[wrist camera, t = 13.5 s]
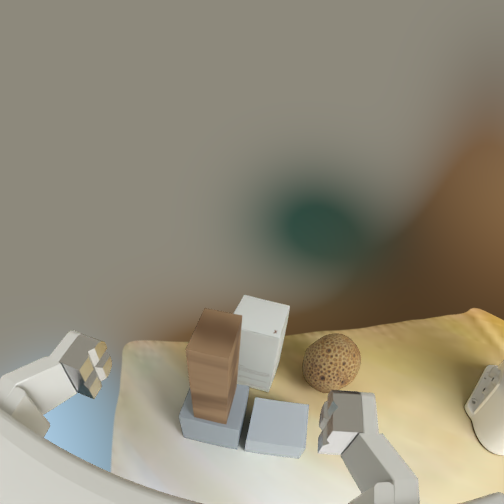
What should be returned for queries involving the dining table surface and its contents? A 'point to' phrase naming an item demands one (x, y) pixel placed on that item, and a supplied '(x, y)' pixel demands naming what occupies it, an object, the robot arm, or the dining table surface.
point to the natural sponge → (331, 362)
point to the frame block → (214, 364)
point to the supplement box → (260, 341)
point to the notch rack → (252, 425)
